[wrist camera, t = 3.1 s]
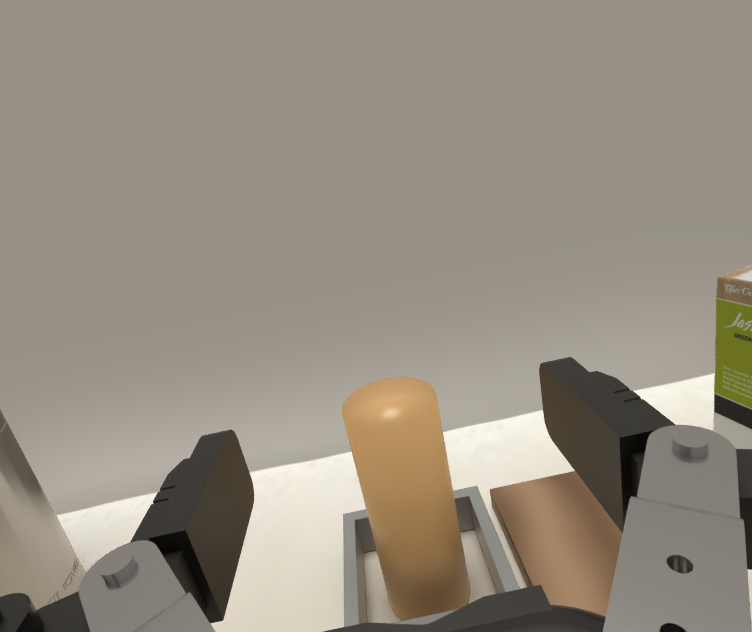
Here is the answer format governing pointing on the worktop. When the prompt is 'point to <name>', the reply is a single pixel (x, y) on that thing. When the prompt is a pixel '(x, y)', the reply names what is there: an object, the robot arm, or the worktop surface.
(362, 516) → the bin
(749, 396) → the tea box
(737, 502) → the robot arm
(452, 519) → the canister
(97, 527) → the worktop surface
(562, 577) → the pad
